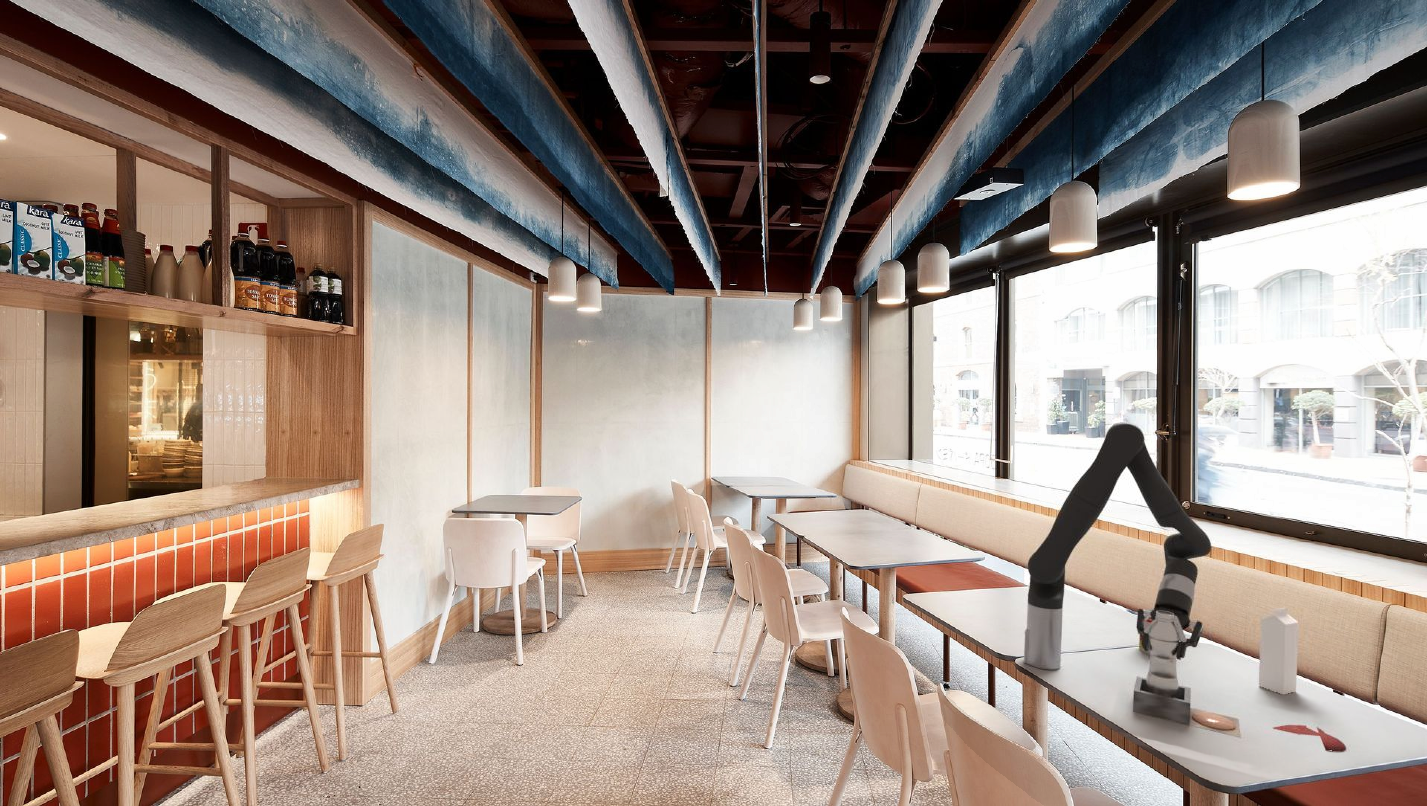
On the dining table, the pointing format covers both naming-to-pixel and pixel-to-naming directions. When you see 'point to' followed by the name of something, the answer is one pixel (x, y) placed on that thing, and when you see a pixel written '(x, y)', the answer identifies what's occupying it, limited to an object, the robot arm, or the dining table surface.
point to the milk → (1278, 652)
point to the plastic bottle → (1163, 655)
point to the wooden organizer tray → (1172, 707)
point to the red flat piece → (1327, 740)
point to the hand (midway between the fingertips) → (1161, 653)
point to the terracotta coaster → (1213, 721)
